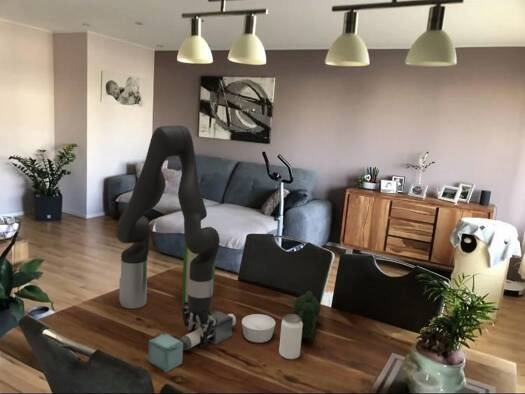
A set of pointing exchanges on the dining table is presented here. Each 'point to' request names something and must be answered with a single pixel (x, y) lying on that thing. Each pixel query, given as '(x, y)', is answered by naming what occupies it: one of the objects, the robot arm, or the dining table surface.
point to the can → (290, 336)
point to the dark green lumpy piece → (307, 314)
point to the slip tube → (196, 337)
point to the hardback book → (186, 272)
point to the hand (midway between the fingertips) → (197, 342)
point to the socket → (165, 352)
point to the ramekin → (258, 327)
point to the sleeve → (221, 327)
